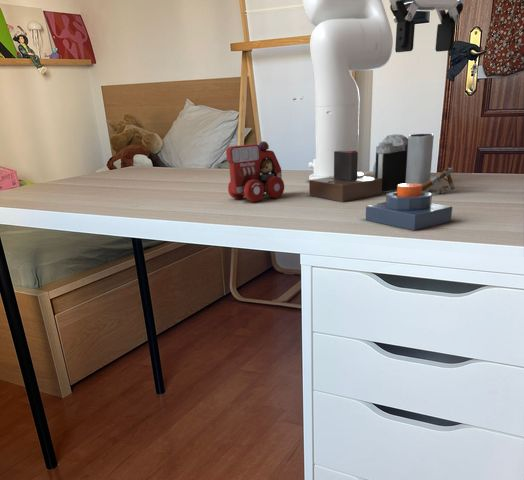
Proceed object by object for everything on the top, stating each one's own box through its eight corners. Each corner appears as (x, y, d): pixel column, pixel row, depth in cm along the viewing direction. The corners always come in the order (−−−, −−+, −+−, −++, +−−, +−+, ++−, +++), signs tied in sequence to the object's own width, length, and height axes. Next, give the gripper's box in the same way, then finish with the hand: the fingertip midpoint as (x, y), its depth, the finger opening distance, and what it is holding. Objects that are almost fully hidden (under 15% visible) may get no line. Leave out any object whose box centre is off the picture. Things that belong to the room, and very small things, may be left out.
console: (309, 195, 105) (309, 179, 104) (347, 188, 110) (347, 173, 108) (342, 201, 98) (342, 184, 96) (381, 194, 102) (382, 177, 101)
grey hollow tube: (416, 194, 100) (420, 136, 96) (400, 191, 104) (403, 135, 99) (434, 191, 102) (439, 134, 98) (417, 188, 106) (421, 133, 101)
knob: (333, 178, 104) (333, 150, 102) (339, 177, 105) (340, 149, 102) (350, 180, 100) (351, 151, 98) (357, 179, 101) (357, 150, 99)
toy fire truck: (292, 195, 106) (290, 140, 102) (242, 205, 100) (238, 146, 95) (270, 191, 111) (268, 139, 107) (222, 200, 105) (217, 145, 100)
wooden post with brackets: (460, 186, 100) (454, 164, 97) (425, 208, 100) (418, 186, 97) (455, 185, 101) (449, 163, 99) (419, 206, 101) (412, 185, 99)
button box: (365, 220, 83) (366, 194, 82) (401, 212, 87) (402, 187, 85) (414, 230, 76) (416, 202, 74) (450, 221, 79) (453, 194, 78)
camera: (401, 179, 117) (404, 131, 112) (428, 182, 112) (432, 131, 108) (358, 189, 108) (359, 137, 104) (385, 192, 103) (388, 138, 99)
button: (391, 197, 80) (392, 185, 80) (408, 193, 82) (408, 182, 81) (409, 200, 78) (410, 187, 77) (426, 196, 79) (427, 184, 78)
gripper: (451, -69, 85) (440, 52, 93) (375, -81, 77) (369, 53, 85) (492, -81, 80) (477, 49, 87) (415, -95, 71) (405, 50, 79)
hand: (424, 51), depth 86 cm, fingers open, 9 cm apart
